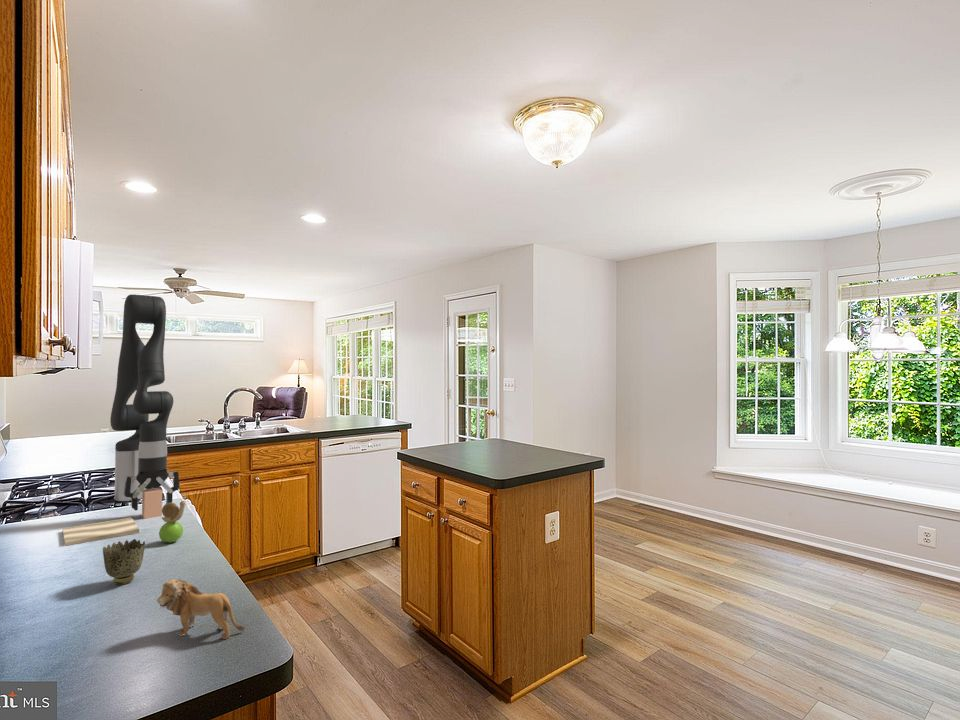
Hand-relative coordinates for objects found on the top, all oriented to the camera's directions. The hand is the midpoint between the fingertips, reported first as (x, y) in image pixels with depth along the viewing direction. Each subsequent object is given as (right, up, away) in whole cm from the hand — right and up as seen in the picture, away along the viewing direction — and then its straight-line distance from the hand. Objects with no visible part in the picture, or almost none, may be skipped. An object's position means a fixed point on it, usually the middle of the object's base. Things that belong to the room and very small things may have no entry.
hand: (152, 507), depth 156 cm
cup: (+26, -2, -49) cm, 55 cm away
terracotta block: (0, -3, 0) cm, 3 cm away
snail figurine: (+21, -2, -24) cm, 32 cm away
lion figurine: (+54, -2, -69) cm, 88 cm away
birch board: (-4, -2, -16) cm, 17 cm away
